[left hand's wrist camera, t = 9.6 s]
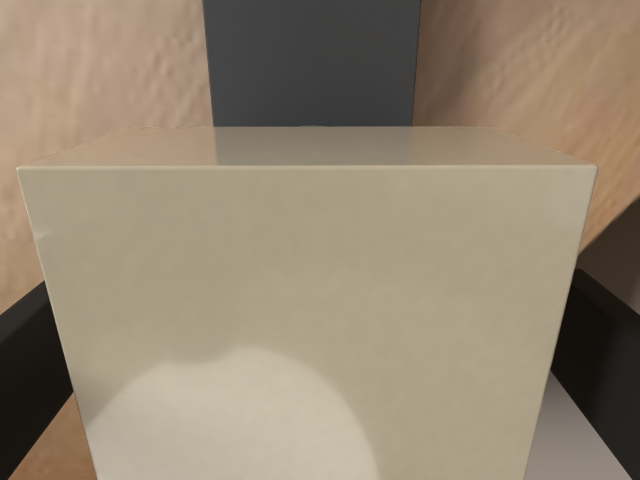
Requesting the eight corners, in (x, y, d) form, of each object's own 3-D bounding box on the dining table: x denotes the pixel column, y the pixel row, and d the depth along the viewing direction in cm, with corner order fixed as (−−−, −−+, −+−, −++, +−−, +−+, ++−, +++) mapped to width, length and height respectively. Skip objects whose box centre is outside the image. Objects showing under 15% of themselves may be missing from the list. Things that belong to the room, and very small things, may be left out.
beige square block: (451, 409, 16) (507, 552, 11) (174, 411, 16) (115, 556, 11) (492, 125, 12) (601, 165, 8) (128, 126, 12) (12, 166, 7)
